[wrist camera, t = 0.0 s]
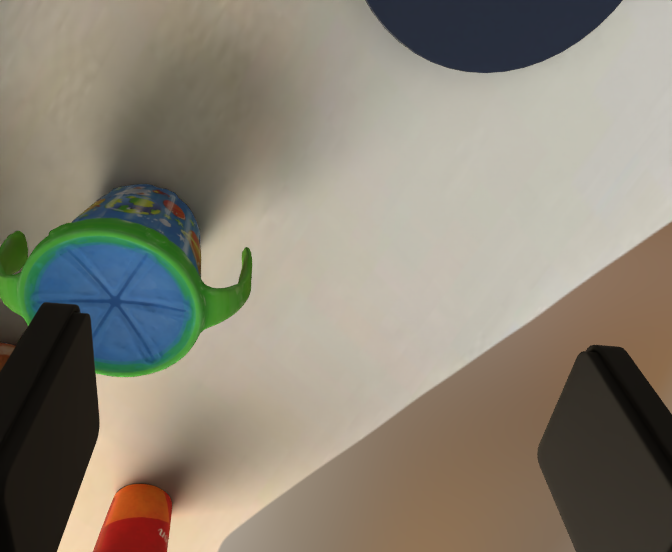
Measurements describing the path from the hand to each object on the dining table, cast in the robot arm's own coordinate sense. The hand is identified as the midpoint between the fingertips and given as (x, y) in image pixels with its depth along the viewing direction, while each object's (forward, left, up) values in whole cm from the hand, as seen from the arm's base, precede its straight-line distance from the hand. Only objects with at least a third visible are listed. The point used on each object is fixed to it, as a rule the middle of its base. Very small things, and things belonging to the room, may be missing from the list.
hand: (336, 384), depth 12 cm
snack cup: (+14, -10, -31) cm, 36 cm away
